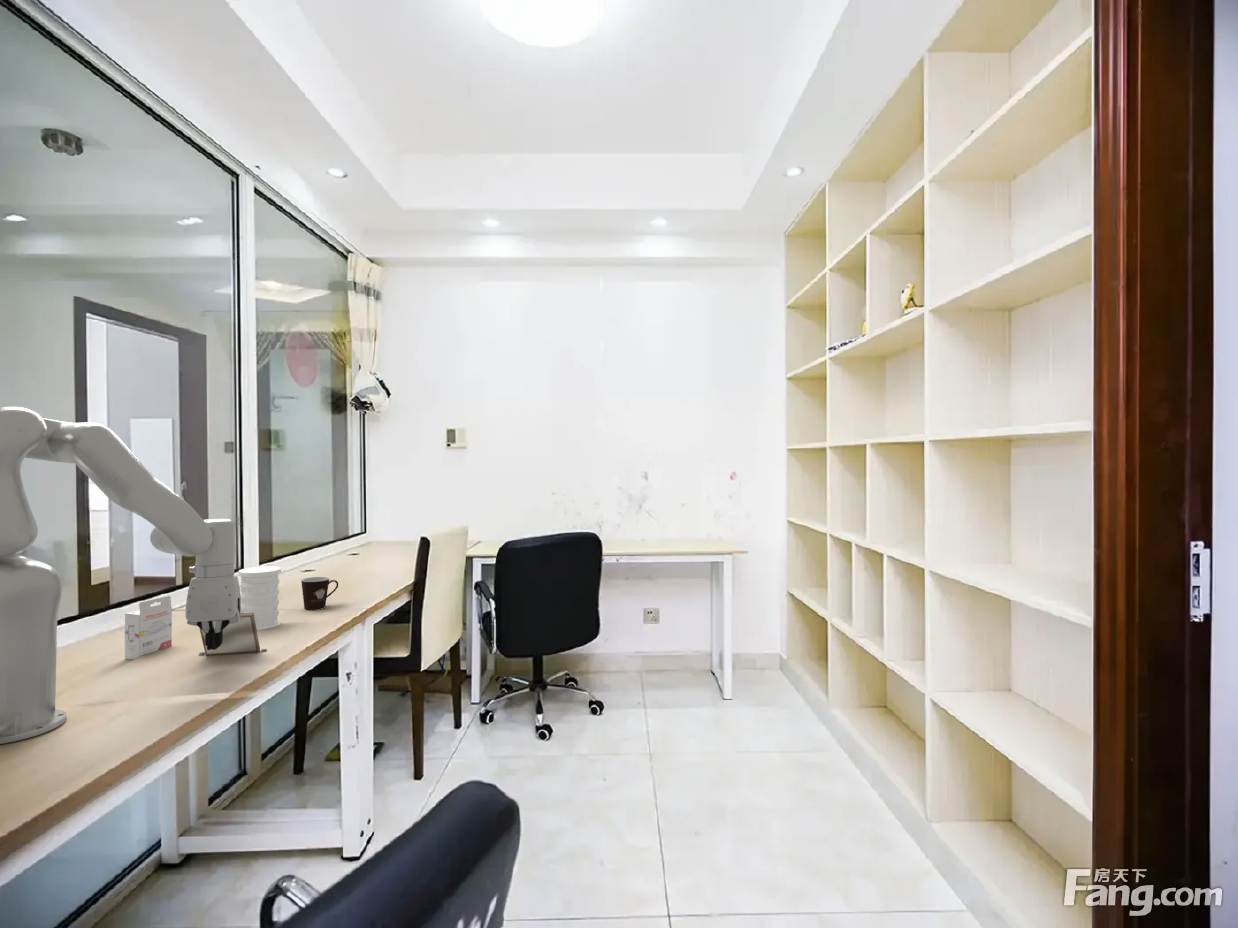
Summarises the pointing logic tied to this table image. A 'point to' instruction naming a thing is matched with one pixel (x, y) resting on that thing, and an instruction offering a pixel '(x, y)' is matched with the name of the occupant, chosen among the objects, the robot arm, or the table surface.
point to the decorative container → (260, 594)
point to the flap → (237, 637)
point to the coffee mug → (316, 592)
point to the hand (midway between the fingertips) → (213, 647)
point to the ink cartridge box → (148, 628)
